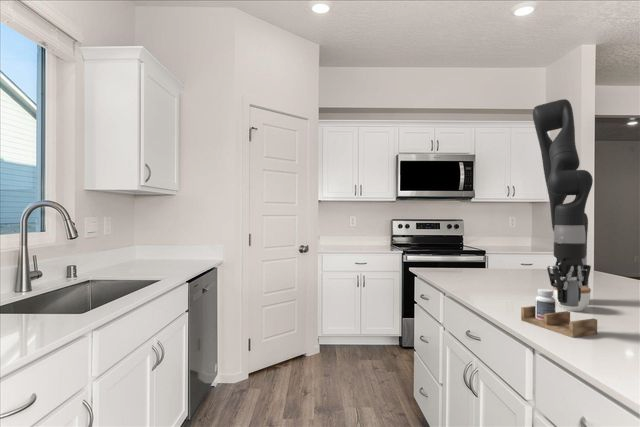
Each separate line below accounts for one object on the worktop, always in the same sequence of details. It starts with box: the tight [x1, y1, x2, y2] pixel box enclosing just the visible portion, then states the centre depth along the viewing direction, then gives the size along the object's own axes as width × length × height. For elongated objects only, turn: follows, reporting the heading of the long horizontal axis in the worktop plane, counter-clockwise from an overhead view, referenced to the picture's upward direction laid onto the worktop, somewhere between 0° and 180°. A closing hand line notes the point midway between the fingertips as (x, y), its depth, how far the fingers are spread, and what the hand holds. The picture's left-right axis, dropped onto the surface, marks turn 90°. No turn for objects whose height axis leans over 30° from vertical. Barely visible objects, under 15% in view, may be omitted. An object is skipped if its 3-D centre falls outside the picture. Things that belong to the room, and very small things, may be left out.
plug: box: [560, 277, 579, 307], centre depth 108 cm, size 4×4×8 cm
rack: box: [520, 305, 598, 338], centre depth 112 cm, size 9×17×4 cm, turn 18°
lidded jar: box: [552, 286, 592, 313], centre depth 131 cm, size 11×11×9 cm
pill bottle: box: [534, 288, 556, 321], centre depth 116 cm, size 5×5×9 cm
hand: (569, 301), depth 108 cm, fingers closed on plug, 4 cm apart
